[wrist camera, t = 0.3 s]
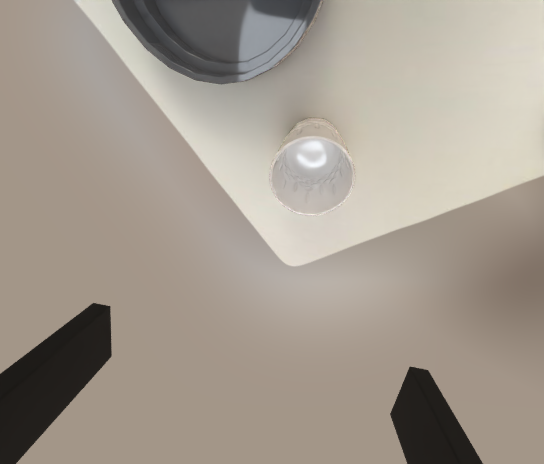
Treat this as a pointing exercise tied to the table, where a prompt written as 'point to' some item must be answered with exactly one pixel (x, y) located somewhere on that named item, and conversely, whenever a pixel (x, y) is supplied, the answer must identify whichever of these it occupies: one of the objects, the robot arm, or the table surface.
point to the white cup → (312, 169)
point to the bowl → (219, 34)
